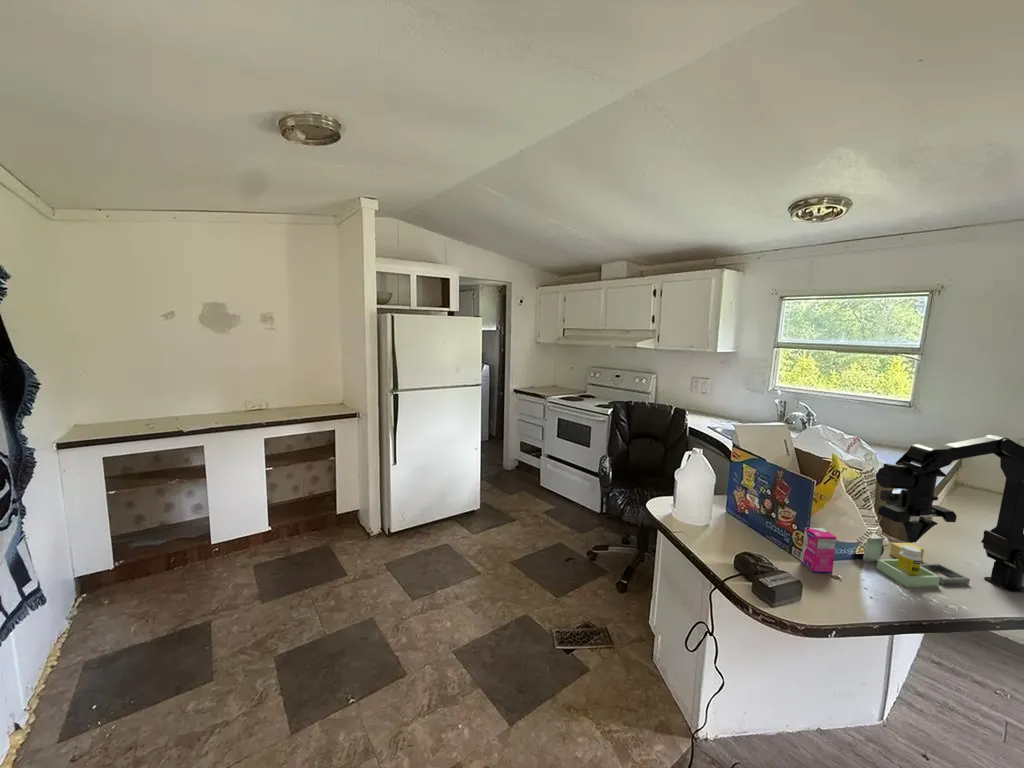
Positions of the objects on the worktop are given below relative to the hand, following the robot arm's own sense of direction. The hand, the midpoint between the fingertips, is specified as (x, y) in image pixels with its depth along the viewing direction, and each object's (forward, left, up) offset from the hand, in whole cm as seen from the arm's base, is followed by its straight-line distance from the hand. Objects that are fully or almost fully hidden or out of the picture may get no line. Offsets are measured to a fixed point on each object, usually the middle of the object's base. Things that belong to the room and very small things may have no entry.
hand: (911, 541), depth 123 cm
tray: (0, 0, -11) cm, 11 cm away
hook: (-13, -22, -11) cm, 28 cm away
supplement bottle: (0, 0, -11) cm, 11 cm away
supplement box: (+23, -5, -11) cm, 27 cm away
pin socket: (-11, 0, -11) cm, 16 cm away
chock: (-12, -11, -11) cm, 20 cm away
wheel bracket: (0, -11, -11) cm, 16 cm away
